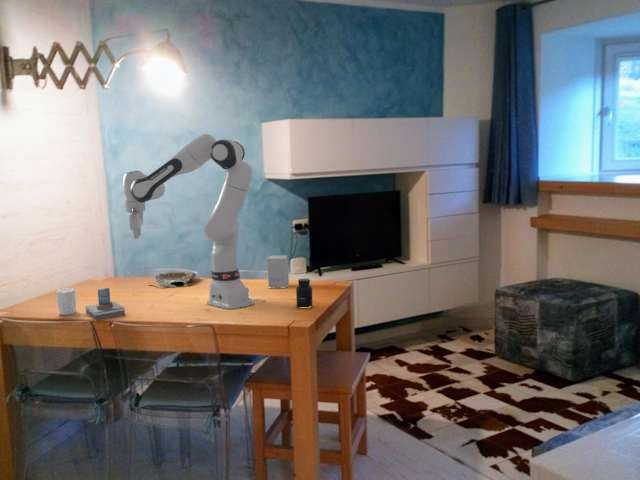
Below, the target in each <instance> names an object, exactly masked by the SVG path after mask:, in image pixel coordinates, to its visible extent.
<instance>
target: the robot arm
mask: <svg viewBox="0 0 640 480" xmlns="http://www.w3.org/2000/svg"><path fill="white" fill-rule="evenodd" d="M244 158H245V148H244V147H243V146H242V144H241V143H239V142H238V141H235V140H232V139H219V140H216V138H215V137H214V136H212V135H210V134H208V133H204V134H201V135H199V136H198V137H196V138H194V139H193V140H191V141H190V142H188V143H187V144H186V145H185V146H184V147H182V148H181V149H180V150H178V152H177V153H176V154H174V155H173V156H172V157H171V158H170V159H168V160H167V162H166V163H164V164H163V165H162V166H160V167H158V168H157V169H156V170H154V171H153V172H152V173H150V174H149V175H147V174H144V173H143V172H142V171H140V170H134V171H133V170H132V171H129V172H126V173H125V174H124V175H123V185H122V186H123V187H122V189H123V194H124V211H125V212H127V214H128V217H129V218H128V221H129V229H130V230H131V231H132V233H133V239H134V240H139V237H141V235H142V234H141V227H142V225H143V223H144V212H145V211H146V203H147V202H149V201H153V200H158V199H160V198H162V196H164V194H165V191H166V187H165V183H167V182H168V181H169V180H171V179H172V178H174V177H177V176H180V175H184V174H188V173H192V172H194V171H195V170H198V169H199V168H201V167H202V166H203V165H205V164H206V163H208V162H209V161H210V160H212V161H213V162H214V163H216V164H217V165H218V166H220V167H221V168H222V169H223V170H226V175H225V179H224V181H223V184H222V188H221V190H220V193H219V196H218V199H217V201H216V204H214V205H215V206H214V207H213V209H212V211H211V214H210V216H209V218H208V219H207V221H206V223H205V225H204V229H203V230H204V234H205V236H206V238H207V239H208V240H211V241H213V245H212V250H211V254H210V255H211V279H212V280H211V282H210V285H209V297H208V299H209V300H207V301H206V305H210V306H213V307H216V308H217V307H218V308H221V309H226V310H233V309H240V307H241V308H246V307H250V306H252V305H255V304H254V303H255V301H254V300H253V299H252V298H249V291H250V289H249V287H247V286H245V285H244V283H243V282H242V280H241V275H240V271H239V268H238V257H237V251H238V250H237V249H238V248H237V247H238V240H239V239H238V238H239V228H240V221H239V219H238V216H239V214H240V212H241V210H242V209H243V207H244V204H245V201H246V198H247V195H248V192H249V189H250V186H251V181H252V179H253V178H252V176H253V168H252V166H251V165H250V164H249V163H247V162H246V161H243V160H244ZM249 305H250V306H249ZM245 306H246V307H245Z"/></svg>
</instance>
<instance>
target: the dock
mask: <svg viewBox="0 0 640 480" xmlns="http://www.w3.org/2000/svg"><path fill="white" fill-rule="evenodd" d="M98 304H99V303H97V304H96V303H95V304H91V305H87V306H85V307H84V308H85V314H87V315H88V316H90V317H91V318H93V319H94V320H95V319H98V320H103V319H102V318H104V319H108V318H113V317H114V318H115V317H119V316H124V315H126V314H125V313H126V312H125V310H126V308H125V307H124V306H122V305H120V304H119V303H118V302H115V301H112V306H111V308H110V309H97V305H98Z"/></svg>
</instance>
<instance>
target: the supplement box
mask: <svg viewBox="0 0 640 480" xmlns="http://www.w3.org/2000/svg"><path fill="white" fill-rule="evenodd" d="M288 258H289V257H288V255H269V256H268V257H267V258H266V261H267V282H268V288H269V287H271V288H270V289H282V288H281V287H287V288H288V286H289V285H288V284H289V283H290V282H289V263H288V261H289V260H288ZM273 287H274V288H273Z"/></svg>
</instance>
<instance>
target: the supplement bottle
mask: <svg viewBox="0 0 640 480" xmlns="http://www.w3.org/2000/svg"><path fill="white" fill-rule="evenodd" d="M310 280H311V279H309V278H299V279H298V283H297V284H298V285H297V286H296V288H295V291H296V292H295V293H296V294H295V295H296V308H297V307H309V306H312V307H313V287H312V285H310V284H311V281H310Z"/></svg>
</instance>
